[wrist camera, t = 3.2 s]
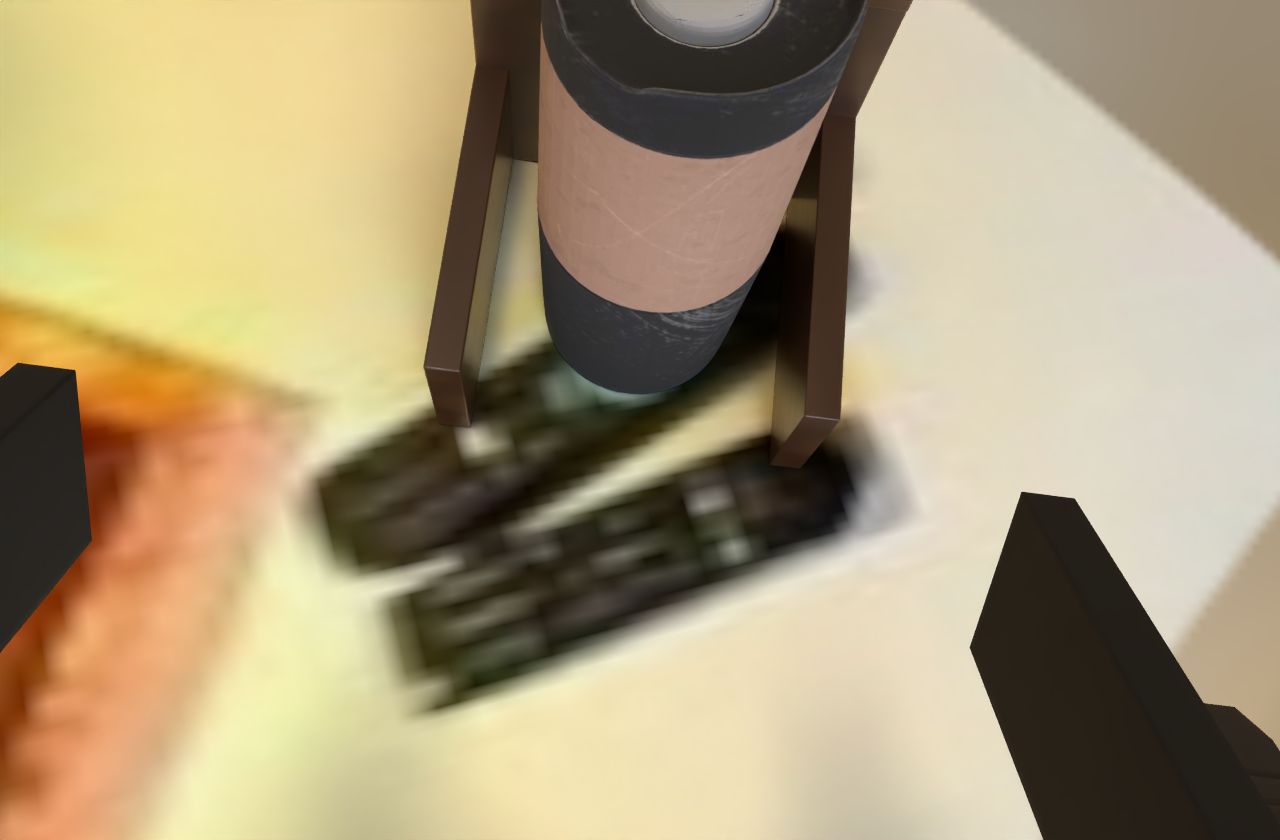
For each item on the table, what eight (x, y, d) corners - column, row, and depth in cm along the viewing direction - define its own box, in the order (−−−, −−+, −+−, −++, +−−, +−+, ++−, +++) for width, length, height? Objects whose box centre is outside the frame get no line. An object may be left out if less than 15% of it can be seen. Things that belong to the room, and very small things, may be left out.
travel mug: (724, 218, 46) (857, -182, 27) (743, 399, 44) (902, 101, 25) (533, 222, 45) (529, -187, 26) (541, 406, 43) (545, 105, 24)
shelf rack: (438, 424, 42) (397, 278, 30) (487, 127, 46) (470, -109, 34) (800, 468, 43) (904, 344, 31) (818, 172, 47) (917, -43, 35)
